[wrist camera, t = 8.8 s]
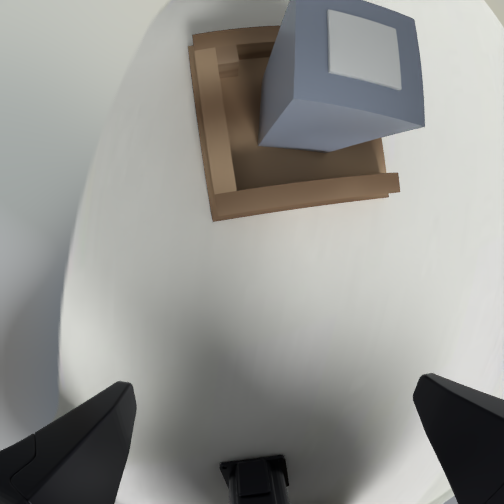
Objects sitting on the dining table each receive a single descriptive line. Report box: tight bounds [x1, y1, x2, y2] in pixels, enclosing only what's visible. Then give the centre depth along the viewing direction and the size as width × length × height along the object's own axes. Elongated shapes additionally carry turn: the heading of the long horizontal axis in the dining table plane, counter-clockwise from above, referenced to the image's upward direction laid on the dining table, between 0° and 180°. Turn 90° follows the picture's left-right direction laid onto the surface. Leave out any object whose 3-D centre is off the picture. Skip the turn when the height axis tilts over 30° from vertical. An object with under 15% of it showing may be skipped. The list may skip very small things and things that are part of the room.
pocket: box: [188, 26, 400, 222], centre depth 16 cm, size 12×12×3 cm
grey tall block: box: [258, 0, 425, 153], centre depth 12 cm, size 4×4×11 cm
